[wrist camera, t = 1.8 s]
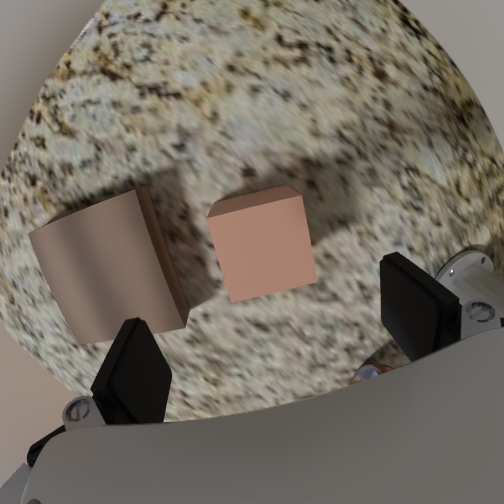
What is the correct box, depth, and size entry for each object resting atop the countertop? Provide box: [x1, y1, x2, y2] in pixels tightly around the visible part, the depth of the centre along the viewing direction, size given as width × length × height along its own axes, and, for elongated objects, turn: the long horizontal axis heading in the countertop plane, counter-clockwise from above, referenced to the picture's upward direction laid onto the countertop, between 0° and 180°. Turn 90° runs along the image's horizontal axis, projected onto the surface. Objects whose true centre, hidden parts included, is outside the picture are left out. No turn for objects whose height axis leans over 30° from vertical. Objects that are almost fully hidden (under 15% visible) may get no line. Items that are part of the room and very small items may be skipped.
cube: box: [206, 185, 317, 302], centre depth 21 cm, size 6×6×6 cm
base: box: [28, 185, 190, 345], centre depth 23 cm, size 12×12×3 cm
